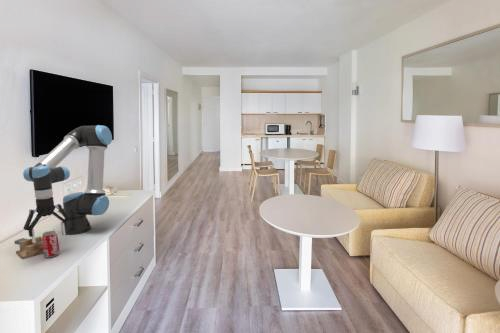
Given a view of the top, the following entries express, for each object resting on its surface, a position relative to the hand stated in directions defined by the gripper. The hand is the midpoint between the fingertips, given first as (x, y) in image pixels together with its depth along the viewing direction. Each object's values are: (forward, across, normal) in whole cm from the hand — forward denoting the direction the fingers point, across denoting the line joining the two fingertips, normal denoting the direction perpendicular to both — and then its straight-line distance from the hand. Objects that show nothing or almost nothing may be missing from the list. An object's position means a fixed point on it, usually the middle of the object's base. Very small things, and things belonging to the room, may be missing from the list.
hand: (49, 238), depth 172 cm
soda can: (+9, 0, 0) cm, 9 cm away
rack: (+9, +4, -13) cm, 16 cm away
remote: (+10, +2, -29) cm, 31 cm away
